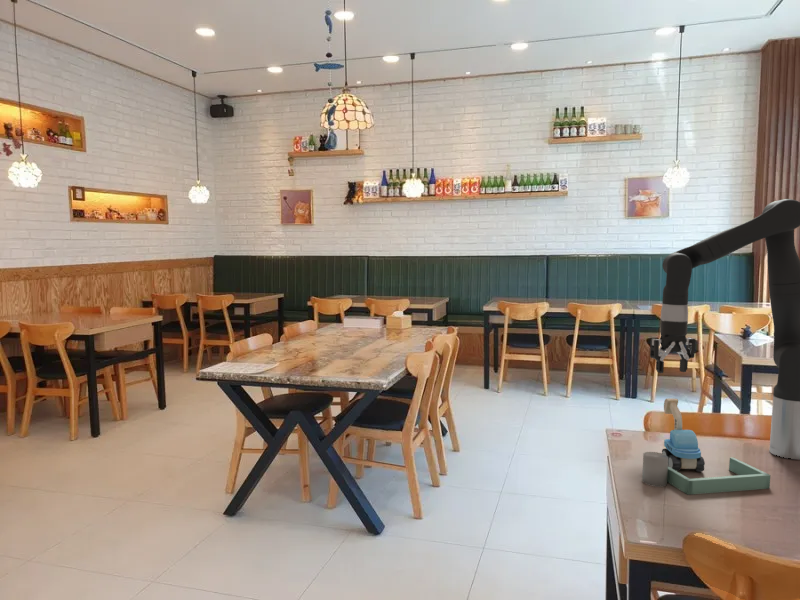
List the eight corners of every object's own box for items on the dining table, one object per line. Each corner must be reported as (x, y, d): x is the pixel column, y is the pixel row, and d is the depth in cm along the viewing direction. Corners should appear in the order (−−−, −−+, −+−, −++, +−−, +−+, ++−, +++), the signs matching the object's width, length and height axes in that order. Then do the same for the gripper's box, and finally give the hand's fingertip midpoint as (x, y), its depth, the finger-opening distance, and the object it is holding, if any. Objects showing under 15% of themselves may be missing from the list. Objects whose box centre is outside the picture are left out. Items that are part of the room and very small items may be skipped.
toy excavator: (683, 453, 175) (686, 397, 174) (706, 475, 159) (710, 413, 157) (653, 452, 176) (656, 396, 174) (673, 473, 159) (676, 411, 158)
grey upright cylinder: (657, 476, 157) (659, 451, 157) (671, 485, 151) (673, 459, 151) (637, 478, 156) (638, 452, 155) (650, 487, 150) (652, 460, 150)
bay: (732, 469, 163) (733, 457, 162) (769, 488, 150) (770, 475, 150) (656, 475, 158) (657, 462, 158) (687, 494, 146) (688, 481, 145)
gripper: (686, 317, 184) (683, 368, 186) (645, 317, 182) (643, 370, 183) (703, 320, 177) (700, 374, 179) (660, 320, 174) (658, 375, 176)
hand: (671, 372), depth 181 cm, fingers open, 7 cm apart
